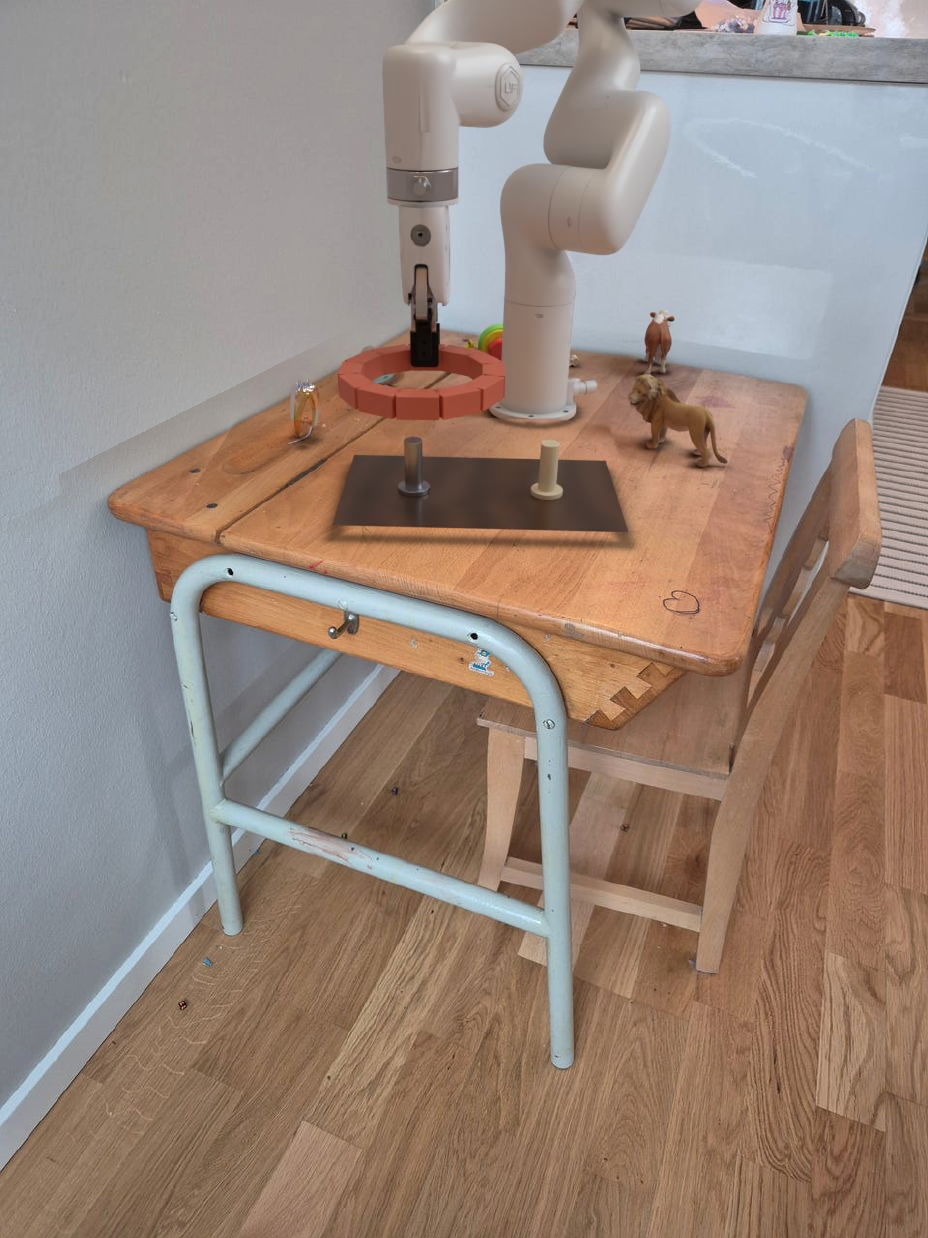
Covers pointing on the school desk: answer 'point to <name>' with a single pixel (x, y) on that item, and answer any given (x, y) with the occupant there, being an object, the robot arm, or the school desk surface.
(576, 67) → the robot arm
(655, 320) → the bull figurine
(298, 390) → the ring
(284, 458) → the school desk surface
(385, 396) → the ring
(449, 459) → the board
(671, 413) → the lion figurine
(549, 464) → the cream post
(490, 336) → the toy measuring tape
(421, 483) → the steel post
